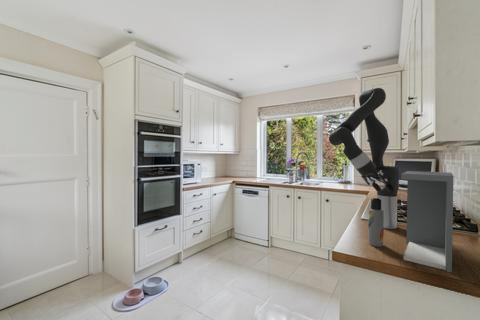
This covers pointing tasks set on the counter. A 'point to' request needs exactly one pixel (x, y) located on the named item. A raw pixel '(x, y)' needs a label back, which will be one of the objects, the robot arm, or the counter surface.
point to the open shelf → (430, 210)
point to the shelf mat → (425, 255)
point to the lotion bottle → (375, 223)
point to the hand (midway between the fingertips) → (385, 190)
